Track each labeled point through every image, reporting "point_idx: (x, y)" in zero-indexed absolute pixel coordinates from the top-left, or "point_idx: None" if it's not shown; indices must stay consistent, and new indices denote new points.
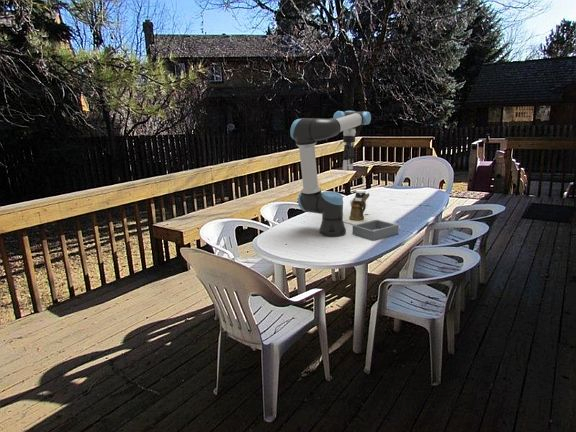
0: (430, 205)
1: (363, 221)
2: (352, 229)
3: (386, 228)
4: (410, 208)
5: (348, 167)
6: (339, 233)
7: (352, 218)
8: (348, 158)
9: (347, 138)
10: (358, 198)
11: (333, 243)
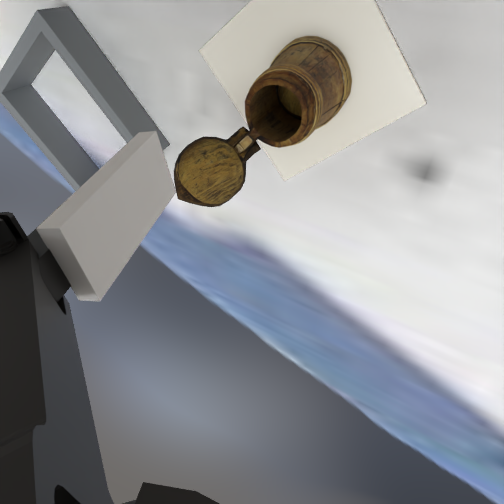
0: (498, 470)
1: None
2: (51, 8)
3: (42, 150)
4: (477, 395)
5: (133, 143)
6: None
7: (278, 53)
8: (3, 214)
9: None
10: None
11: None
